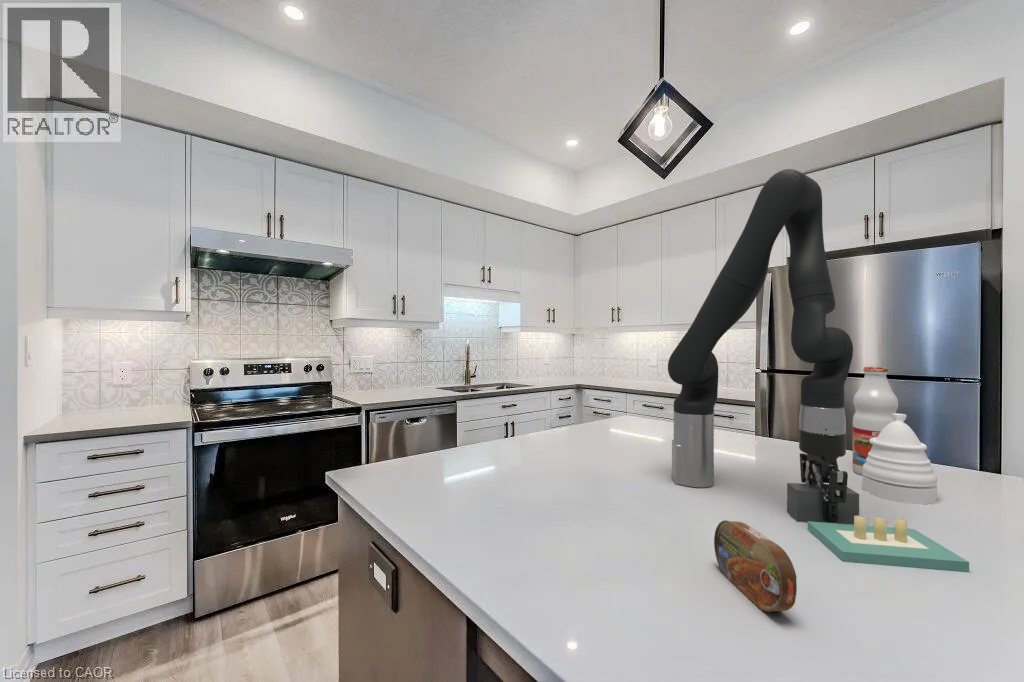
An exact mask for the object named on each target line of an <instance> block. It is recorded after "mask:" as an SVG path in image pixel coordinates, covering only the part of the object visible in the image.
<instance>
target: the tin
mask: <svg viewBox="0 0 1024 682" xmlns="http://www.w3.org/2000/svg"><path fill="white" fill-rule="evenodd" d="M713 537H714V538H713V544H714V545H713V546H714V552H715V553H714V554H715V558H716V561H717V565H718V567H719V569H720V571H721V573H722V575H723V576H724V577H725V578H726V580H727V581H728V582H730V584H732V585H733V586H734V587H735V588H736V589H738V590H739V591H740V592H741V593H742V594H743V595H744V596H745V597H746V598H747V599H748V600H749V601H751V602H752V603H753V604H754V605H755V606H756V607H757V608H758V609H760V610H761V611H763V612H768V613H772V612H785V611H788V610H790V609H792V608H793V607H794V605H795V604H796V598H797V592H798V591H797V588H798V586H797V585H798V584H797V583H798V582H797V573H796V570H795V567H794V564H793V561H792V560H791V559H790V557H789V555H788V554H787V552H786V551H785V550H784V549H783V548H782V547H781V546H780V545H779V544H778V543H776V542H774V541H773V540H771V539H769V538H768V537H767V536H765V535H763V534H762V533H761V532H758V531H757V530H756V529H755V528H753V527H751V526H750V525H748V524H747V523H744V522H742V521H735V520H734V521H732V520H721V521H720V522H719V523H718V525H717V526H716V528H715V532H714V536H713Z"/></svg>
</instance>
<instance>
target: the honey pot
mask: <svg viewBox="0 0 1024 682" xmlns="http://www.w3.org/2000/svg"><path fill="white" fill-rule="evenodd" d="M892 417H893V419H894V420H895V421H893V422H891V423H889V424H888V425H887V426H886V427H884V429H883V430H882V431H881V432H880V434H879V435H878V437H875V438H871V439H869V442H870V443H871V444H873V446H872V448H871V451H870V452H868V457H867V458H866V463H865V464H864V465H863V467H862V468H863V471H862V473H863V474H862V475H861V476H862V477H861V478H862V479H861V480H862V483H861V484H862V488H861V489H862V490H863V492H865V491H866V492H868V493H869V495H870V496H873V495H874V497H876V496H877V497H876V498H879V497H880V499H884V500H886V499H887V501H892V502H895V501H896V502H895V503H901V502H902V504H908V503H910V504H909V505H919V504H921V505H922V506H924V505H926V506H927V505H928V504H929V505H935V504H937V502H938V486H937V484H938V482H937V481H938V477H937V475H936V474H935V472H934V468H933V466H932V465H931V464H932V462H931V460H930V459H929V458H928V455H927V453H926V452H925V451H926V450H927V449H928V447H927V445H926V444H925V443H923V442H921V441H920V439H919V438H918V436H917V435H916V433H915V432H914V430H913V429H912V428H911V427H910V426H909V425H908V424H907V423H906V422H905V420H906V419H907V417H908V416H907V414H905V413H897V412H896V413H893V414H892ZM866 492H865V493H866ZM868 493H867V494H868ZM934 503H935V504H934ZM921 505H920V506H921Z"/></svg>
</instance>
